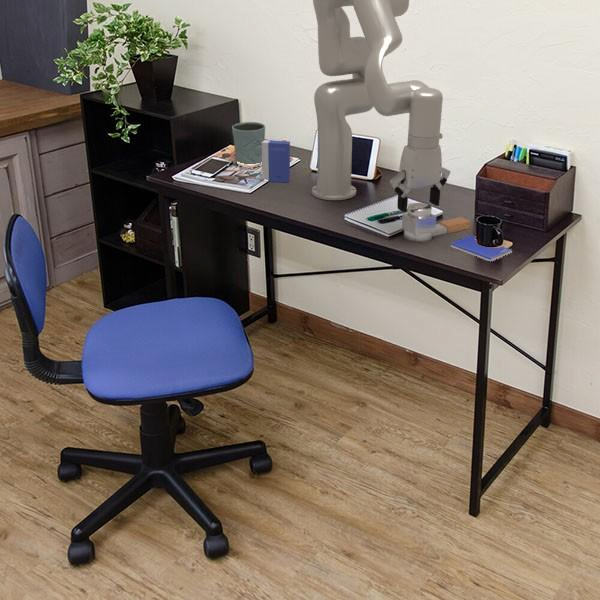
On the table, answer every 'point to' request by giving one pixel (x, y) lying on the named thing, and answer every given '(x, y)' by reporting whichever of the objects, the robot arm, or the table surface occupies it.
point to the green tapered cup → (248, 142)
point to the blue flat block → (480, 249)
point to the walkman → (276, 160)
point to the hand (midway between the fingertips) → (418, 207)
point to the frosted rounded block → (419, 219)
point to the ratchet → (440, 229)
